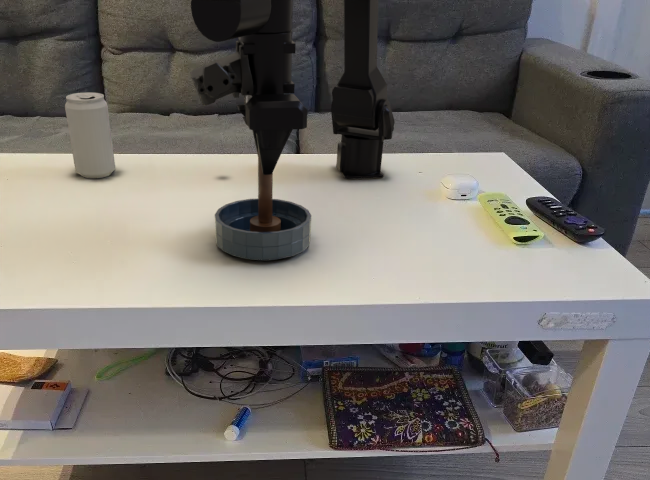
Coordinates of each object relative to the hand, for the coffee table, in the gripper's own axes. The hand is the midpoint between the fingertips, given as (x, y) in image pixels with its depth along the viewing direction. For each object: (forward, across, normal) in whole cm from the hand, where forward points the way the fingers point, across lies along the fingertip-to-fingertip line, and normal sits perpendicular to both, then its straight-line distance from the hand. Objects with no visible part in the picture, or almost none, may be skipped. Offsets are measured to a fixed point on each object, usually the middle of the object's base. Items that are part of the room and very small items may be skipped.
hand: (266, 171), depth 82 cm
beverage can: (+9, -31, -24) cm, 40 cm away
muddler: (+8, 0, 0) cm, 8 cm away
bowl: (+9, +2, -1) cm, 9 cm away
